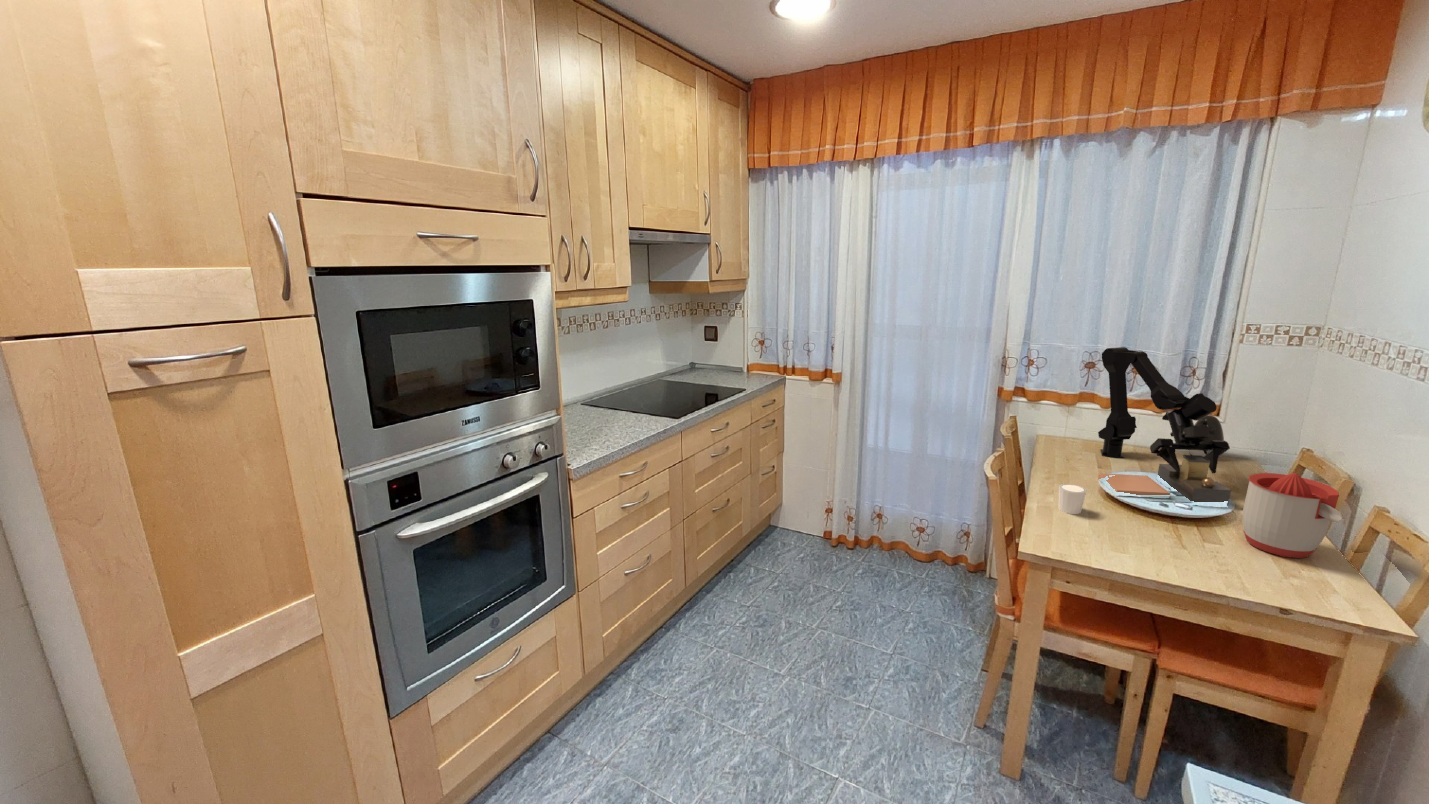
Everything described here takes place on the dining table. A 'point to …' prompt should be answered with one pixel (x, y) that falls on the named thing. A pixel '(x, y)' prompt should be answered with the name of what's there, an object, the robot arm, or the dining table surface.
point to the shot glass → (1071, 498)
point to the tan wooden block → (1194, 468)
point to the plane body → (1194, 486)
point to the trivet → (1134, 484)
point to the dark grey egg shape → (1218, 436)
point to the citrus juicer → (1288, 513)
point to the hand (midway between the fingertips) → (1196, 472)
